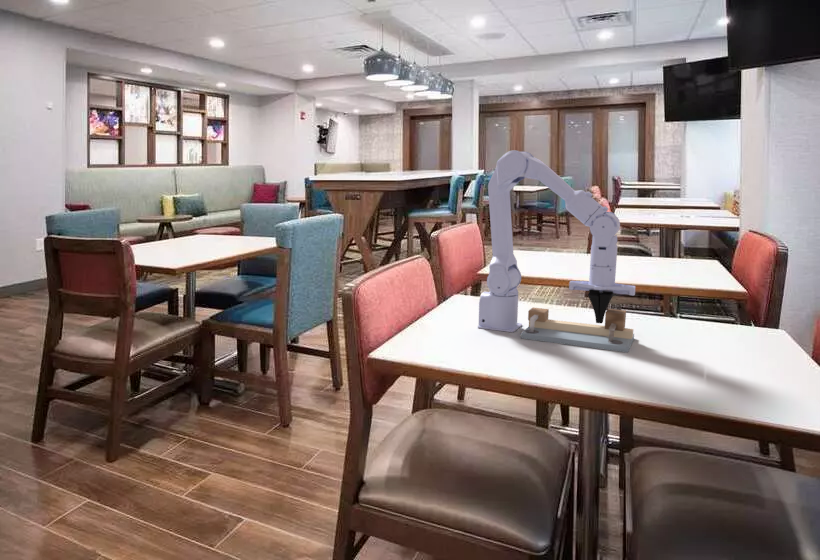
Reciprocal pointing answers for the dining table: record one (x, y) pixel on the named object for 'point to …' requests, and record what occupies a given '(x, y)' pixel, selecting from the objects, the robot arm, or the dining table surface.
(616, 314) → the slider
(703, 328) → the dining table surface
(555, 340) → the gauge board
